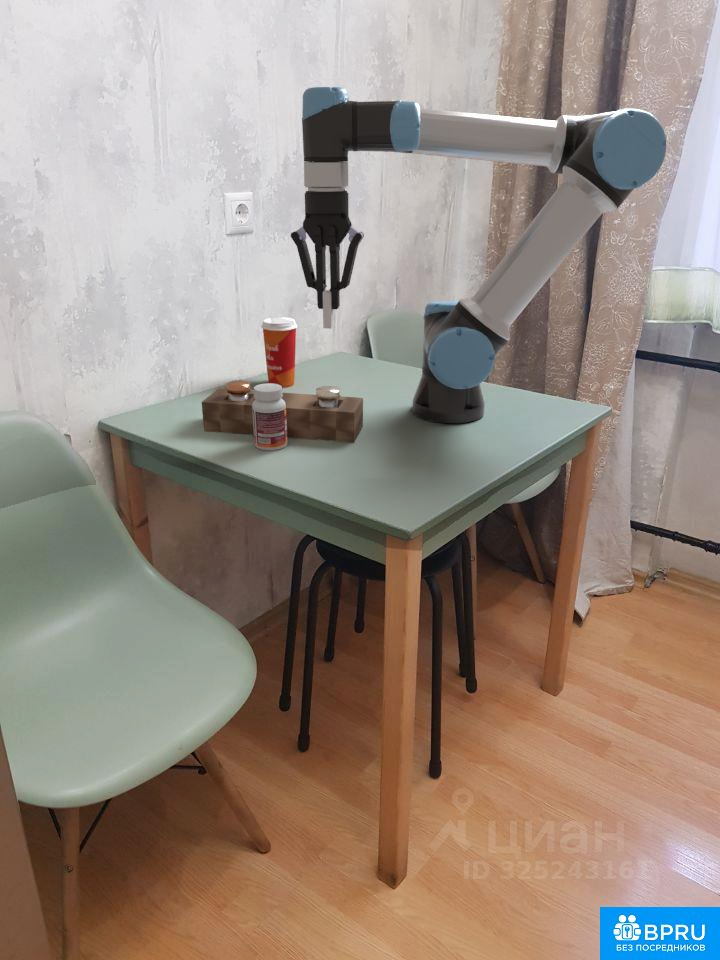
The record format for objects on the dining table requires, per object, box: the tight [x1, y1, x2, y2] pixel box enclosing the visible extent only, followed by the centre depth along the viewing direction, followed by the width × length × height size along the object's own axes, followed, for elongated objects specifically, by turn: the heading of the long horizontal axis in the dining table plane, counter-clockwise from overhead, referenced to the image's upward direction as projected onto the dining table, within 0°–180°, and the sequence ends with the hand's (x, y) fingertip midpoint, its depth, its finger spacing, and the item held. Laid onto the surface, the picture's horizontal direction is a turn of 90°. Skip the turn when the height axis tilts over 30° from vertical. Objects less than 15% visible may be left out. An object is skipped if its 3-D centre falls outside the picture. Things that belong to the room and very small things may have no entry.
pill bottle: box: [252, 382, 288, 451], centre depth 135 cm, size 6×6×11 cm
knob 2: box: [315, 385, 341, 408], centre depth 142 cm, size 5×5×7 cm
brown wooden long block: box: [201, 387, 364, 444], centre depth 145 cm, size 30×9×6 cm, turn 79°
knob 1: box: [225, 379, 252, 402], centre depth 145 cm, size 5×5×7 cm
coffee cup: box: [260, 316, 298, 389], centre depth 170 cm, size 8×8×15 cm
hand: (328, 326), depth 136 cm, fingers closed
